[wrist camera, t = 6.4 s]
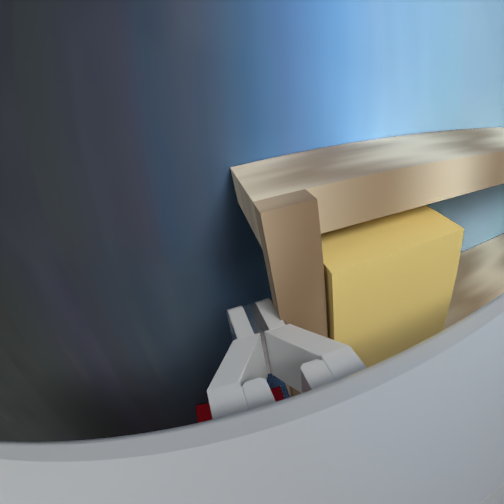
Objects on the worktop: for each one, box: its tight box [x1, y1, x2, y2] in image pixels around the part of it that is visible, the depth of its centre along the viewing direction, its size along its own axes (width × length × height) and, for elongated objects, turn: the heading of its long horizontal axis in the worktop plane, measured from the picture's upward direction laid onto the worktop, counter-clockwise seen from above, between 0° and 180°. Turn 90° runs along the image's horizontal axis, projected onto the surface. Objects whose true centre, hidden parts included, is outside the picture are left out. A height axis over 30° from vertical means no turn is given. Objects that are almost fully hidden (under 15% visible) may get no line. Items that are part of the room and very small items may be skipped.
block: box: [321, 205, 464, 367], centre depth 12 cm, size 5×5×5 cm
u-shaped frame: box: [230, 127, 504, 397], centre depth 12 cm, size 20×9×5 cm, turn 101°
